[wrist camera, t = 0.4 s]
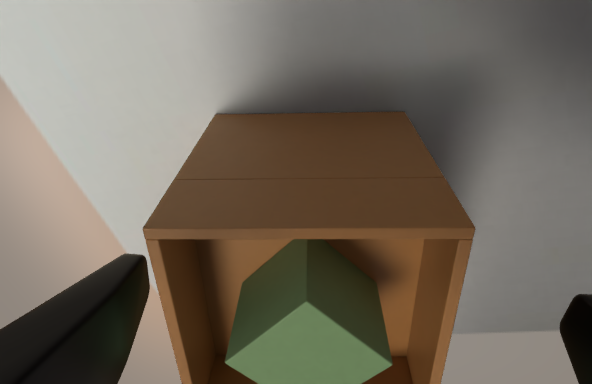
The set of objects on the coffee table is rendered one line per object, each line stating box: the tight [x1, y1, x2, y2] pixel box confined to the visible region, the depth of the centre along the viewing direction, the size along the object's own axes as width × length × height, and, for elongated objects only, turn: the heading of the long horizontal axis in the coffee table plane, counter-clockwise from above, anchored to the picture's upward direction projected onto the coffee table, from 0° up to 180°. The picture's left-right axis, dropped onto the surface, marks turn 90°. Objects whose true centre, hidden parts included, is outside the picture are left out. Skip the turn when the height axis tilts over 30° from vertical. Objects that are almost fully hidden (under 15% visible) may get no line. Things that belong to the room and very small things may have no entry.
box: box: [143, 112, 475, 384], centre depth 18 cm, size 9×9×10 cm
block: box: [225, 239, 393, 384], centre depth 15 cm, size 4×4×4 cm
